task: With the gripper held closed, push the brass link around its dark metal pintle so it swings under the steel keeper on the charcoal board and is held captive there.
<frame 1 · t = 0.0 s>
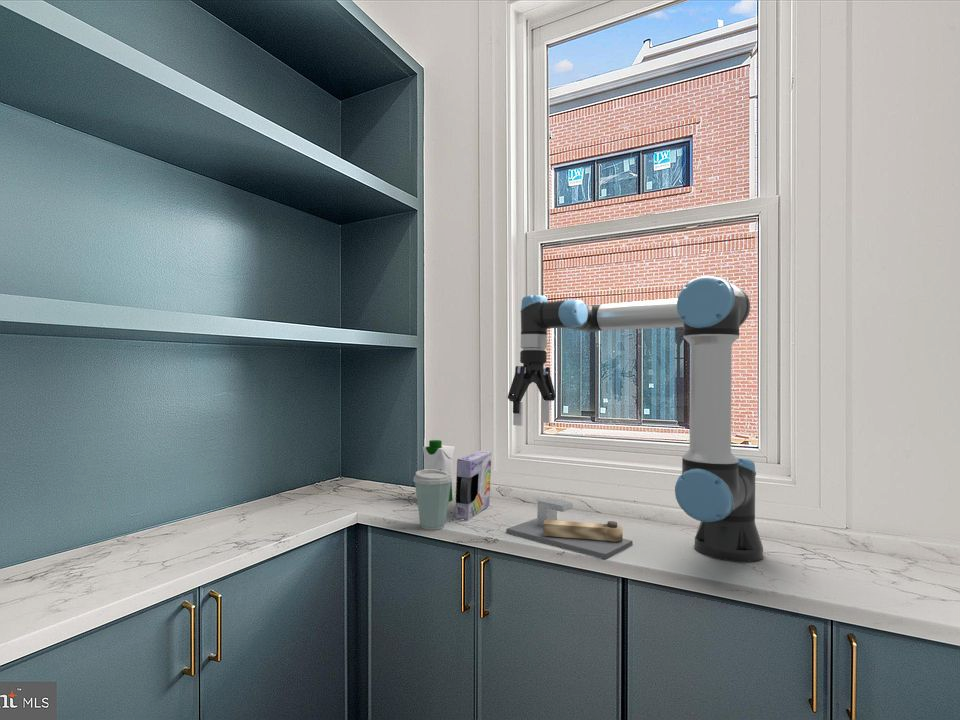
hand: (532, 424, 153), 28 cm above the worktop, tool pointing down, fingers open, 13 cm apart
steel keeper: (554, 530, 145), resting on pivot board
disposable coffee cup: (431, 527, 146), on the worktop
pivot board: (567, 539, 137), on the worktop
brass link: (582, 528, 135), point 4 cm above the worktop, hinge at 30.0°
cake pan box: (472, 513, 162), on the worktop
milk carton: (438, 501, 176), on the worktop
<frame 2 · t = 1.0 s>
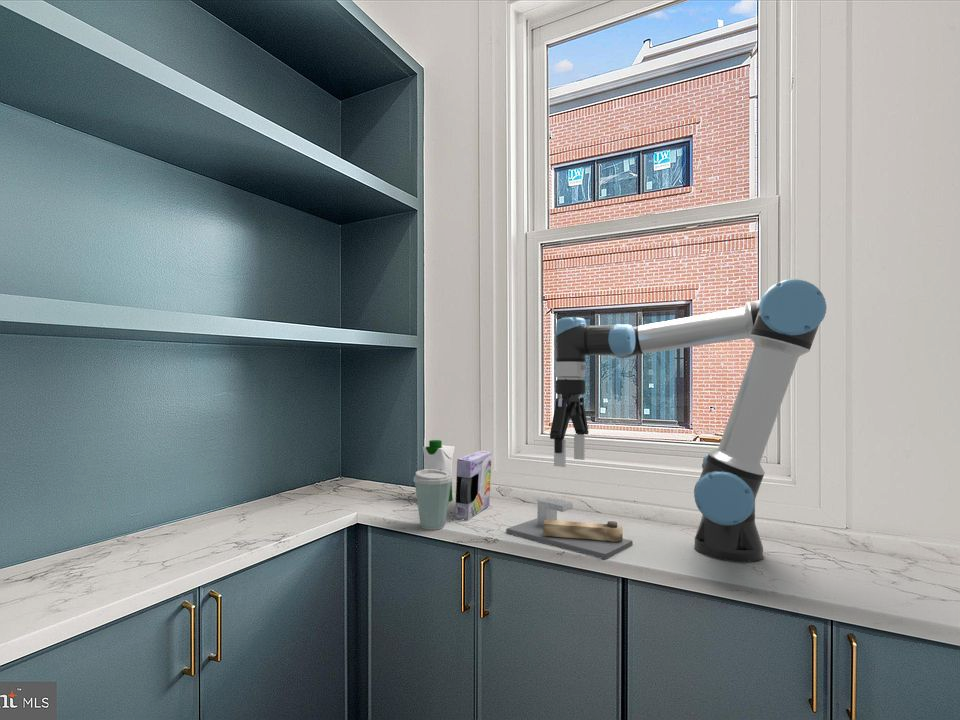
hand: (569, 462, 135), 20 cm above the worktop, tool pointing down, fingers open, 13 cm apart
nothing on the worktop moved.
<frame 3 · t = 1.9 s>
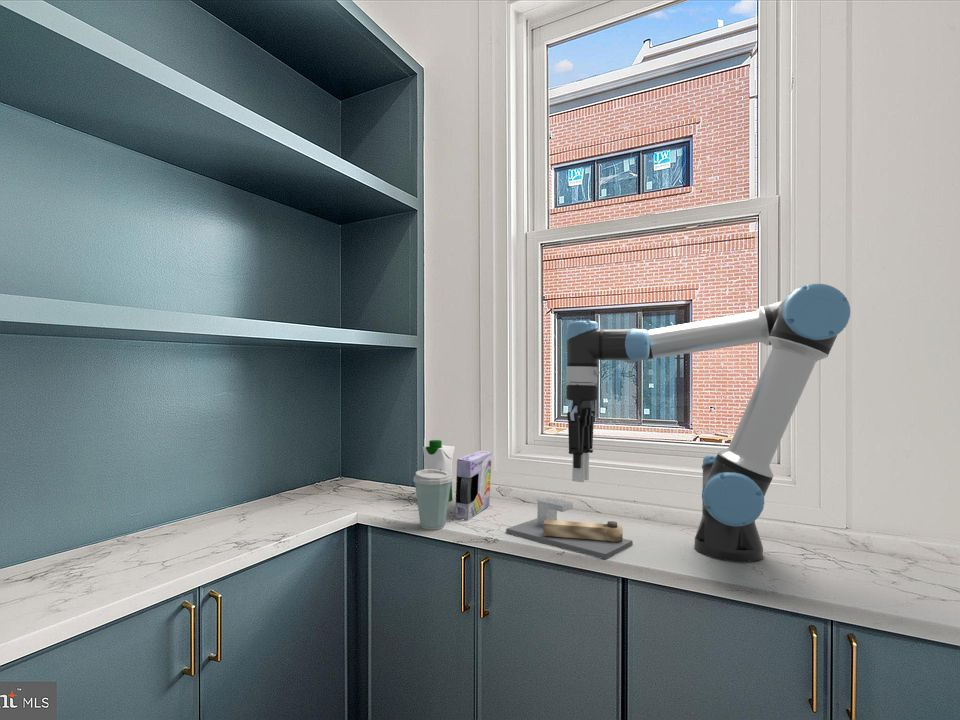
hand: (580, 480, 131), 17 cm above the worktop, tool pointing down, fingers open, 3 cm apart
nothing on the worktop moved.
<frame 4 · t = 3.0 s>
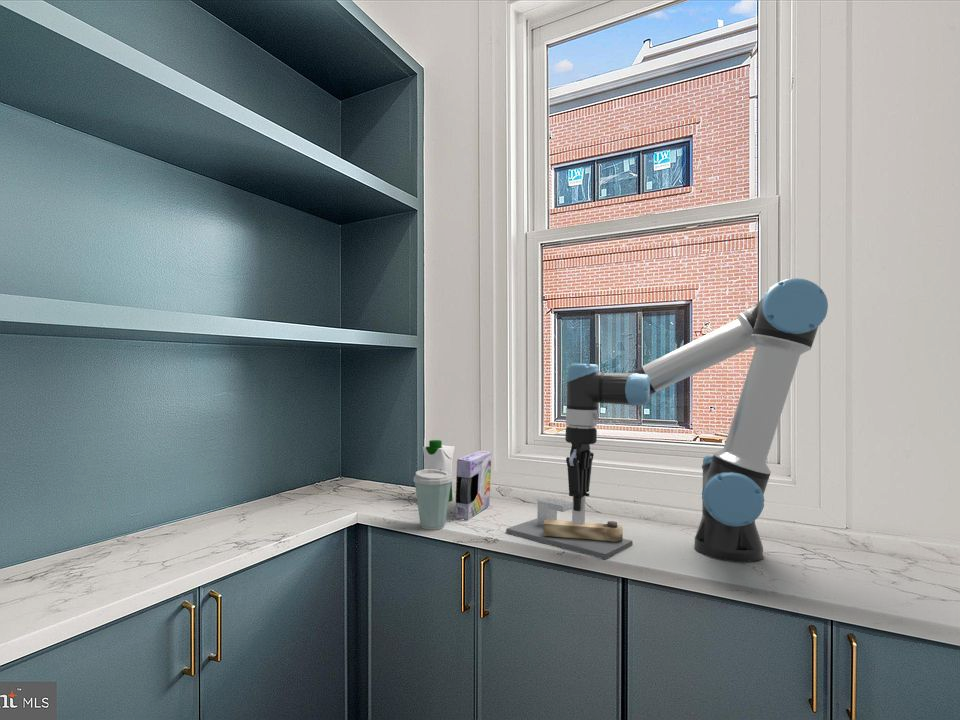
hand: (578, 523, 131), 6 cm above the worktop, tool pointing down, fingers closed
nothing on the worktop moved.
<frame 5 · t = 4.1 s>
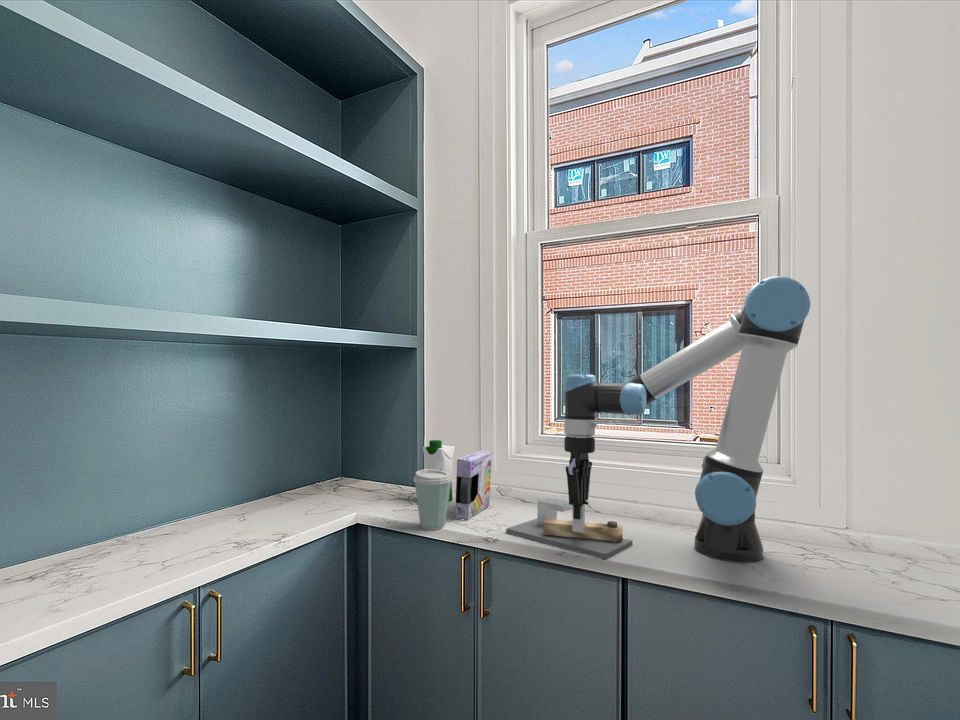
hand: (578, 531, 133), 3 cm above the worktop, tool pointing down, fingers closed
brass link: (582, 527, 135), point 4 cm above the worktop, hinge at 26.4°, touching gripper
everything else where it was.
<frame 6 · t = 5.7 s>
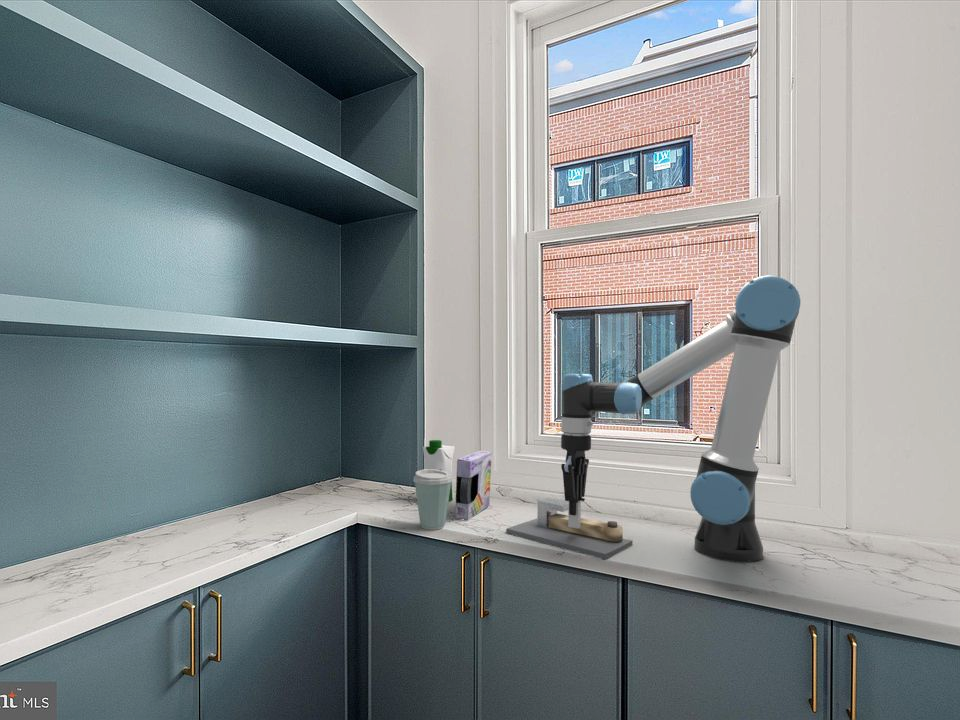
hand: (574, 526, 136), 4 cm above the worktop, tool pointing down, fingers closed
brass link: (585, 525, 138), point 4 cm above the worktop, hinge at 3.7°
everything else where it was.
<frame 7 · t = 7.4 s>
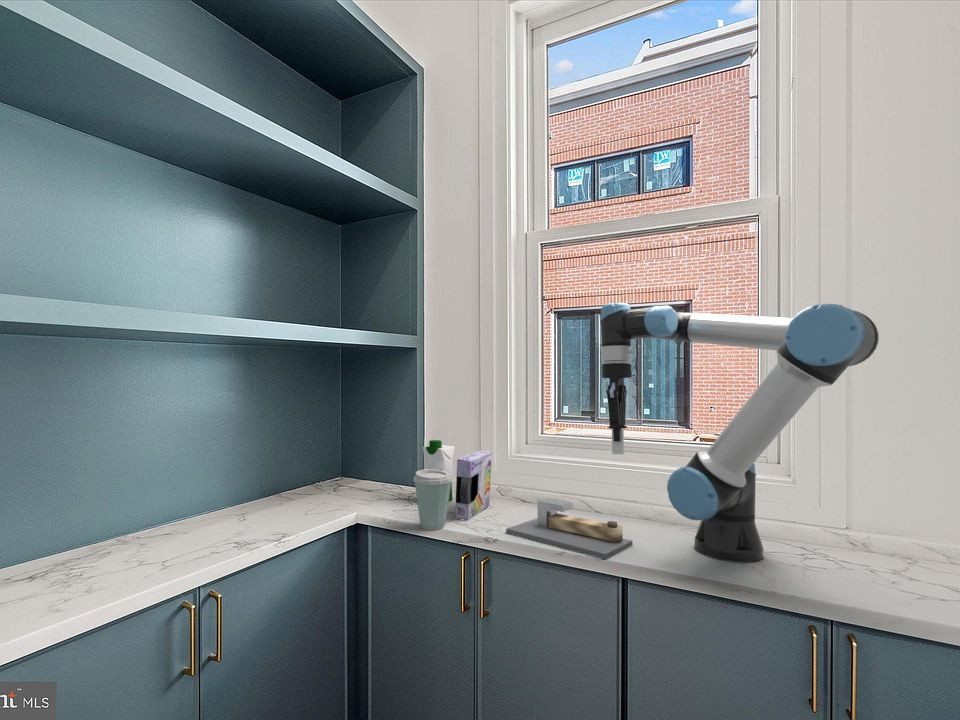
hand: (618, 453, 138), 22 cm above the worktop, tool pointing down, fingers closed
nothing on the worktop moved.
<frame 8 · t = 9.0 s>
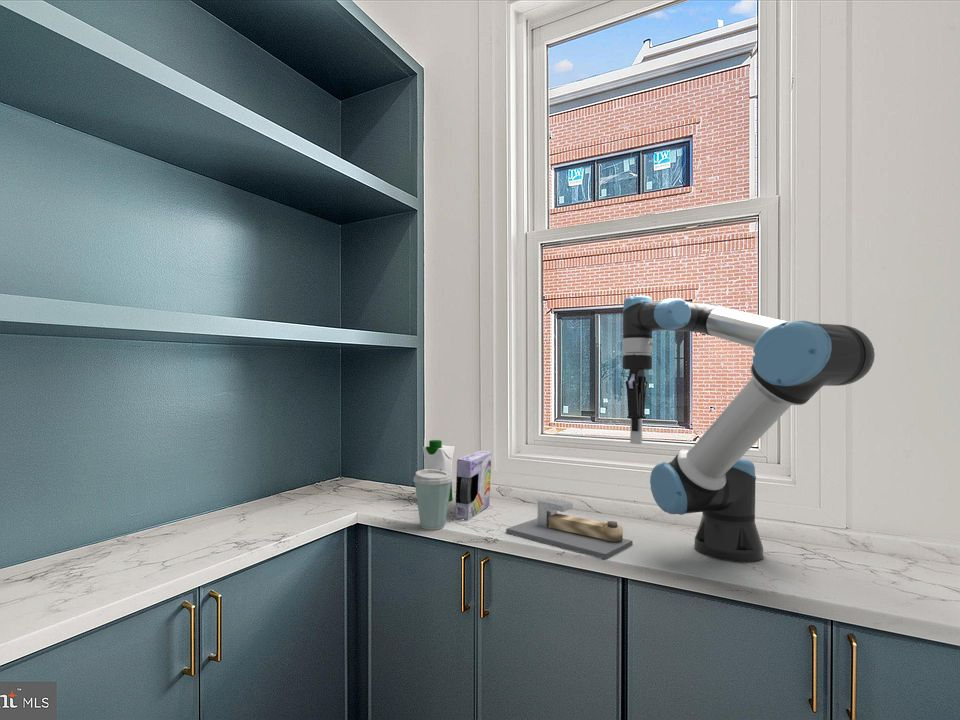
hand: (636, 443, 142), 24 cm above the worktop, tool pointing down, fingers closed
nothing on the worktop moved.
at the end: brass link at +4° (first picture: +30°) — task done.
